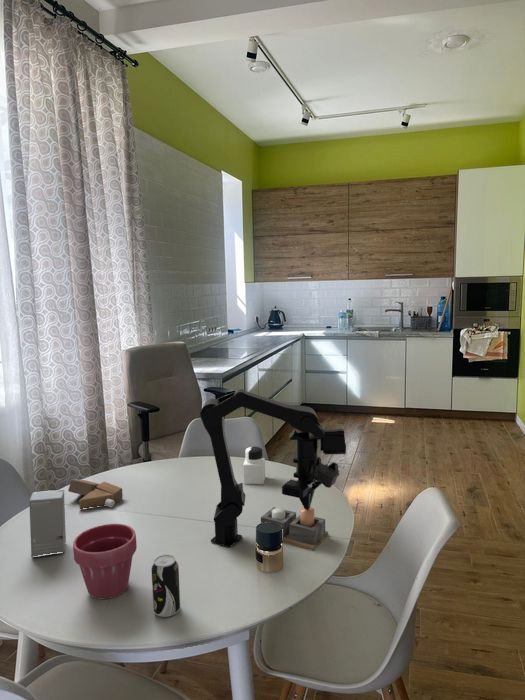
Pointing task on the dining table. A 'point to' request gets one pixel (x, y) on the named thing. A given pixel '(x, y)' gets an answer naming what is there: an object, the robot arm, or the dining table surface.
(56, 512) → the skincare box
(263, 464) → the medicine bottle
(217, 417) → the robot arm
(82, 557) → the plant pot
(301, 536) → the double box holder
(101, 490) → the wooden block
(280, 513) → the white short rounded cylinder
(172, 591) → the beverage can
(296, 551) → the dining table surface
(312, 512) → the terracotta plunger
